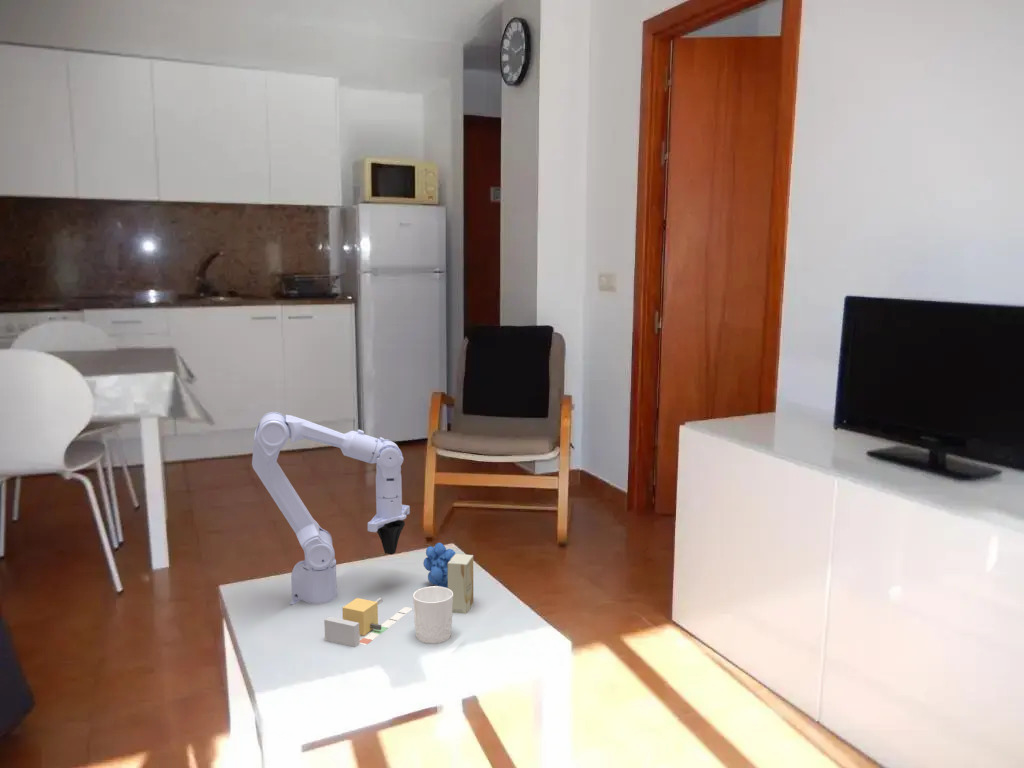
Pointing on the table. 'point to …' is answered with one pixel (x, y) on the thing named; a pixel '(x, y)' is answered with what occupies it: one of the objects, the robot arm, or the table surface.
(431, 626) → the white cup
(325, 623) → the gauge track
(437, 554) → the grapes
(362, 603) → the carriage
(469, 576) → the skincare box
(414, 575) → the table surface
